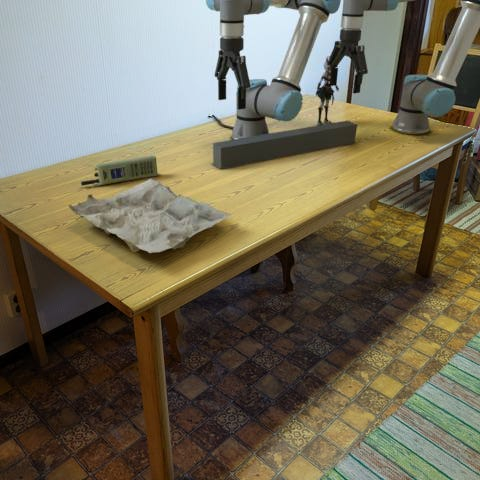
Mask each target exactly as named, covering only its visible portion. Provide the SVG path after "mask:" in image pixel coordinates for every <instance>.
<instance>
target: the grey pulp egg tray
mask: <svg viewBox="0 0 480 480" xmlns="http://www.w3.org/2000/svg"><path fill="white" fill-rule="evenodd" d="M68 208H69V209H70V210H71V211H72V213H74V214H75V215H78V216H79V218H80V219H83V218H85V219H86V220H87V221H89V222H91V223H92V224H93V225H94V226H95V227H96V228H98V229H101V230H103V231H104V232H105V233H106V234H107V235H108V236H110V235H111V234H113V235H116V236H117V237H118V238H120V239H121V240H123V241H124V243H125V244H127V246H128V248H129V249H130V251H131V252H132V253H133V252H134V253H136V252H139V251H141V250H142V251H145V252H147V253H149V254H152V253H162V252H164V251H166V250H169V249H173V250H177V249H178V248H181V249H182V248H184V247H185V245H186V243H187V242H188V241H190V239H191V238H192V237H193V236H194V235H196V234H199V233H200V232H202V231H204V230H206V229H208V228H213V226H215V224H219V222H222V221H223V220H224V219H226V218H229V217H230V216H232V213H227V212H226V211H225V212H224V211H222V210H219V209H216V208H214V207H213V206H212V205H211V204H210V203H205V202H204V201H196V200H194V199H192V198H189V196H184V195H181V194H178V195H177V194H175V193H174V192H173V190H172V189H171V188H170V186H167V185H163V184H162V183H161V182H160V181H159V180H156V179H153V178H149V179H147V180H145V181H143V182H141V183H139V184H136V185H134V186H133V187H130V188H129V189H125V190H123V191H121V192H120V193H117V194H115V195H113V196H111V197H109V198H101V199H99V198H96V197H94V196H93V194H88V195H87V197H86V200H85V201H82V202H80V201H79V202H78V203H77V205H72V204H68Z"/></svg>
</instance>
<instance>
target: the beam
mask: <svg viewBox="0 0 480 480" xmlns="http://www.w3.org/2000/svg"><path fill="white" fill-rule="evenodd" d="M357 129H358V124H357V123H355V122H353V121H350V120H343V121H337V122H331V123H330V124H327V123H323V125H318V124H317V125H313V126H307V127H301V128H295V129H289V130H282V131H277V132H271V133H270V132H269V134H264V135H258V136H253V137H247V138H241V139H235V140H233V139H230V140H224V141H217V142H213V143H212V164H213V165H214V166H215V167H217V168H219V169H220V170H223V169H224V170H225V169H228V168H234V167H238V166H244V165H250V164H255V163H259V162H266V161H270V160H275V159H280V158H285V157H290V156H296V155H301V154H305V153H311V152H317V151H322V150H326V149H327V150H328V149H332V148H337V147H342V146H347V145H352V144H355V143H356V137H357V131H358V130H357Z"/></svg>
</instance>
